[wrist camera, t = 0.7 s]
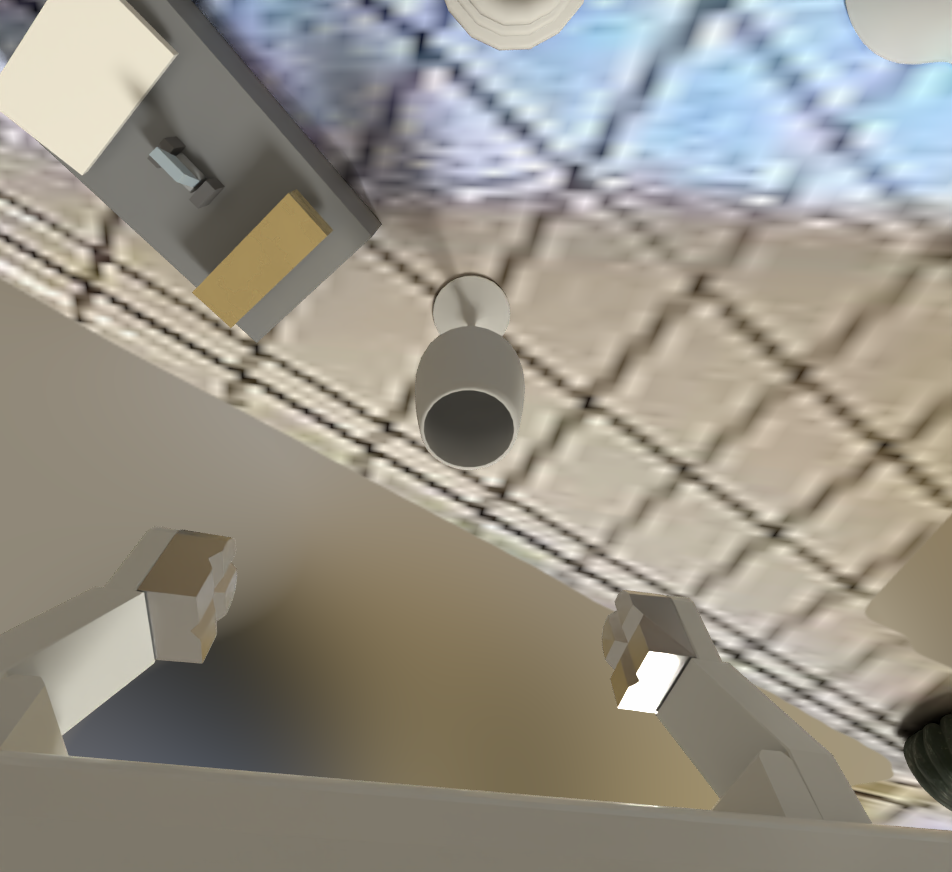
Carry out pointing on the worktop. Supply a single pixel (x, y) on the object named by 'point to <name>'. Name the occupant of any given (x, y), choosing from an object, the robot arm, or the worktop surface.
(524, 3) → the coffee cup
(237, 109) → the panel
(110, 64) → the white slab
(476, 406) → the wineglass
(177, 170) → the paddle
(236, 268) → the gold rectangular block
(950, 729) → the squash
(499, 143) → the worktop surface
